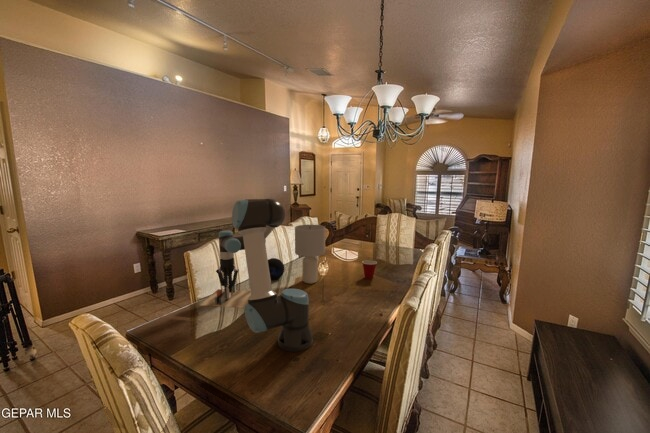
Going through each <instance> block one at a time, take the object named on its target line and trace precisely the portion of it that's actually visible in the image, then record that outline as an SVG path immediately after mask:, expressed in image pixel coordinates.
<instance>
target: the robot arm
mask: <svg viewBox="0 0 650 433" xmlns="http://www.w3.org/2000/svg"><path fill="white" fill-rule="evenodd" d="M285 218H286V210H285V208H284V206H283V205H282V203H281V202H279V201H278V200H277V199H274V198H253V199H252V198H250V199H249V198H246V199H240V200H237V201H235V202H234V205H233V207H232V212H231V223H232V227H233V228H234V229H236V230H238V234H240V235H241V236H234V232H233V231H232V230H220V231H219V232H218V244H219V245H218V247H219V248H218V249H219V264H220V266H219V268H217V269H216V270H215V272H216V274H217V275H218V278H219V282H220V286H222V287H224V290H225V292H226V293H227V298H230V297H231V292H232V286H234V285H236V284H237V283H236V281H237V276H238V273H239V272H240V269H237V268H236V266H235V256H234V254H235V253H236V254H237V253H238V252H239V251H244V252H245V253H244V254H245V261H246V268H247V274H248V282H249V288H250V290H249V291H251V295H250V297H249V298H248V304H247V305H245V307H244V308H243V310H244V316H245V321H246V322H247V325H248V327H249V328H250V330H251V331H252V332H253V333H256V334H258V333H262V332H267V331H269V330H273V329H275V328H276V329H277V328H279V327H281V328H280V331H279V333H278V336H277V343H278V346H279V348H280V349H282V350H283V351H286V352H293V353H296V352H302V351H305V350H308V348H310V347H311V346H312V344H313V338H314V336H313V333H312V330H311V327H310V325H309V323H310V322H309V320H310V319H309V316H310V314H309V313H310V312H309V307H310V300H309V299H310V298H309V294H308V293H307V292H306V291H304V290H302V289H298V288H285V289H283V290H282V291H281V293H280V295H279V296H278V294H277V292H276V291H274V290H273V286H272V280H271V279H270V272H269V265H268V260H269V259H268V253H267V247H266V238H268V236H269V235H271V233H272V232H273V231H274V230H275V228H278V227H280V226H281V225H283V224H282V223H283V222H284V221H285V220H286V219H285ZM235 283H236V284H235Z"/></svg>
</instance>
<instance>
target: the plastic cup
mask: <svg viewBox="0 0 650 433" xmlns="http://www.w3.org/2000/svg"><path fill="white" fill-rule="evenodd" d="M361 263H362V268H363V274H364V278H365V279H366V280H372V279H373V278H374V275H375V271H376V266H377V264H378V262H377V261H376V260H375V261H374V260H362V261H361Z"/></svg>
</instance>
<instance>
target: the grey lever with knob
mask: <svg viewBox="0 0 650 433" xmlns="http://www.w3.org/2000/svg"><path fill="white" fill-rule="evenodd" d="M236 284H237V280H236V283H235V285H236ZM232 294H233V286H232V292H231V295H232ZM227 299H228V298H227V293H226V292H225V293H224V294H223V295H222V296H220V297H219V305H222V304H223V303H224V302H225V301H226V300H227Z"/></svg>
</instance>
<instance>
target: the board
mask: <svg viewBox="0 0 650 433" xmlns="http://www.w3.org/2000/svg"><path fill="white" fill-rule="evenodd" d="M218 290H219V289H216V290H215V291H214V292H213V293H212V294H211V295H209V297H207V298H206V299H205V300H203V302H201V303H200V304H199V306H201V307H202V306H205V307H206V306H207V307H219V308H220V307H223V308H239V309H240V308H241V309H244V307H245V305H247V304H248V298H249V297H250V295H251V290H239V289H238V290H237V289H235V292H234V293H233V294H232V295H231V297H230V298H228V299H227V300H226V301H225V302H224V303H223V304H222V305H219V303H218V304H217V305H215V297H216V296H217V291H218ZM224 290H225V289H222V292H223V291H224Z"/></svg>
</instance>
